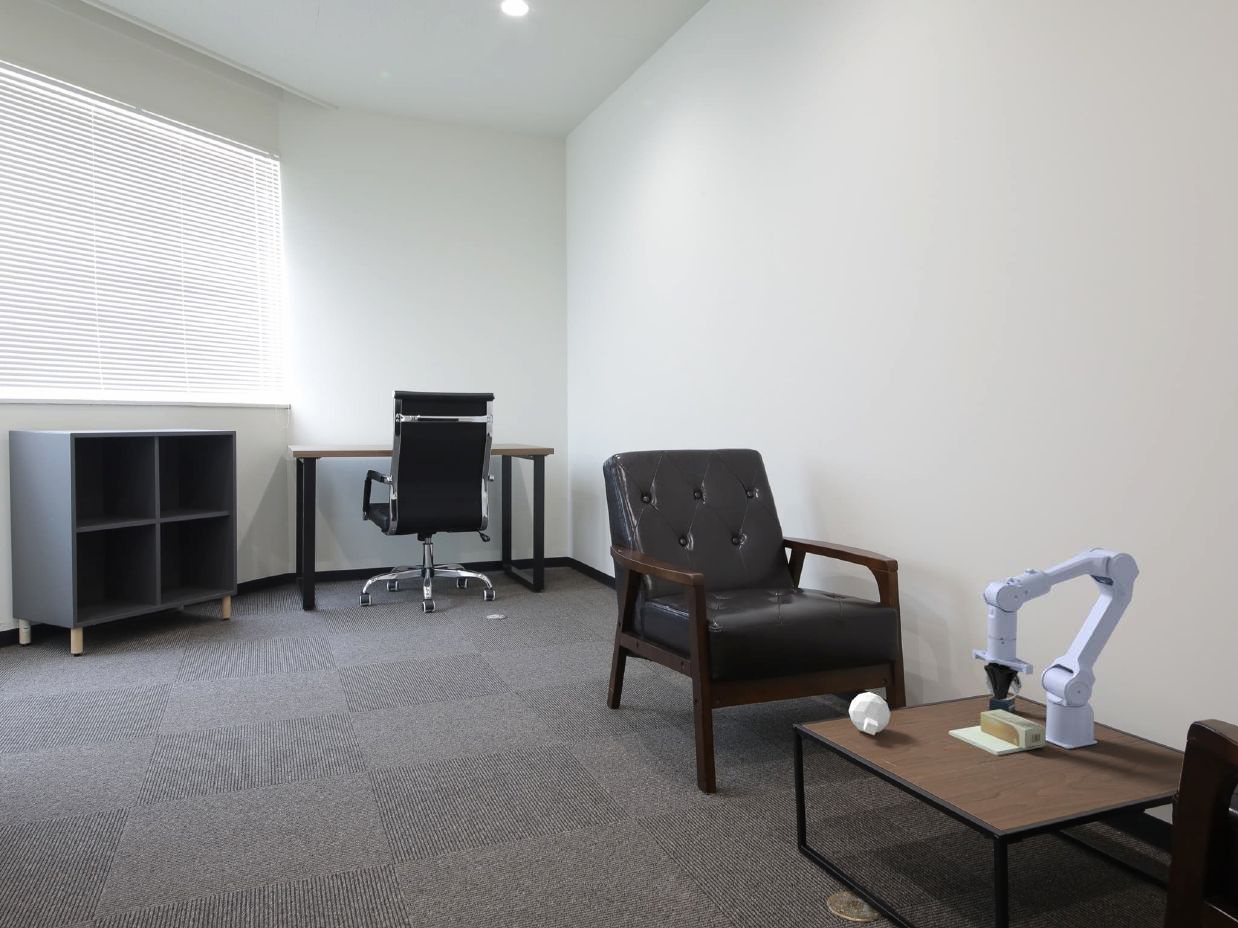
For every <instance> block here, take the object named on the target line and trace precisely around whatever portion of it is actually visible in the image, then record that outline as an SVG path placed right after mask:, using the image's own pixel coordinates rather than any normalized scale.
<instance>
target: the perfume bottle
mask: <svg viewBox="0 0 1238 928" xmlns="http://www.w3.org/2000/svg"><path fill="white" fill-rule="evenodd" d="M848 713H849V716H850V720H851V722H852V724H853V725H854V726H855V727H856V728H857V729H858V730H859V731H862V732H864V733H867V734H870V735H871V736H875V734H876V733H880V732H882V731H883V729H884V728H885V727H887V725H888V724H889V721H890V718H891V711H890V709H889V706H888V702H886V700H884V699H883V698H882V697H881V696H880V695H878V694H875V693H873V692H870V691H868V692H863V693H859V694H858V695H857V696H856V697H854V699H852V700H851V703H850V705H849V709H848Z"/></svg>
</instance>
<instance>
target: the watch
mask: <svg viewBox="0 0 1238 928" xmlns="http://www.w3.org/2000/svg"><path fill="white" fill-rule="evenodd" d="M1018 674H1019V673H1018ZM1018 674H1017V675H1016V676H1015V678H1014V679H1013V681H1012V683H1011V686H1010V688H1012V689H1013V692H1014V695H1012V696H1008V695H1007V698H1006V699H1002V700H999V699H996V698H995V696H994V692H993V688H992V684H991V681H990V679H989V676H988V674H987V673H986V675H985V678H984V679H985V680H984V682H985V685H986V687H987V689H988V691H989V693H990V695H991V696H993V697H991V698H989V708H988V711H992V710H999V709H1001V710H1004V711H1006V712H1009V713H1012V714H1013V713H1014V712H1015V711H1016V697H1017V695H1018V694H1019V693H1020V691H1021V689H1022V687H1023V685H1022V681H1021V678H1020V676H1019V675H1018ZM1013 711H1014V712H1013Z"/></svg>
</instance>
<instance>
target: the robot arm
mask: <svg viewBox="0 0 1238 928" xmlns="http://www.w3.org/2000/svg"><path fill="white" fill-rule="evenodd" d="M1139 574H1140V569H1139V566H1138V565H1137V562H1136V560H1135V558H1134V557H1133V556H1132V555H1131V554H1129V553H1126V552H1119V551H1112V550H1108V549H1104V548H1102V547H1094V548H1093V547H1092V548H1091V549H1089V550H1084V551H1081V552H1080V553H1078V555H1076V556H1074V557H1071V558H1069V559H1067V560H1066V561H1063V562H1061V563H1059V564H1057V565H1054V566H1052V567H1050V568H1048V569H1045V570H1044V571H1043V570H1041V569H1038V568H1032V567H1031V568H1030V567H1029V568H1026V569H1025V572H1024V573H1021V574H1019V575H1016V576H1014V577H1010V576H1009V577H1006V578H1005V581H1004V582H1002V581H993V582H991V583H990V584H988V586H987V587H986V589H985V591H984V592H983V593H982V596H983V600H984V602H985V603H986V604H987V611H988V613H987V616H988V617H987V650H984V649H979V648H977V649H976V648H974V649H972V651H971V657H972V659H975V660H981V661H983V662H987V664H985V665H984V666H983V669H984V670H985V673H986V674H988V676H989V679H990V681H991V684H992V688H993V692H994V696H995V698H996V699H999V700H1002V699H1006V698H1007V696H1008V694H1009V690H1010V688H1011V683H1012V681H1013V679H1014V678H1015V676H1016V675H1017V674H1019V673H1022V674H1023V675H1025V676H1027V675H1033V674H1034V665H1033V664H1031V663H1028V662H1026V661H1024V660H1021V659H1019V658H1018V657H1017V633H1018V632H1017V631H1018V630H1017V628H1018V626H1017V625H1018V611H1019V610H1020V609H1021V607H1022V606H1023V604H1024V603H1026V602H1028V601H1031V600H1034V599H1036V598H1039V597H1041V596H1044V595H1046V594H1048V593H1050V591H1051V588H1052V586H1054V585H1057V584H1060V583H1063V582H1067V581H1069V580H1072V579H1075V578H1078V577H1081V576H1084V575H1089V576H1090V578H1091V579H1092V580H1093V581H1094V583H1095V584H1096V586H1097V588H1098V590H1099V594H1100V595H1099V597H1098V599H1097V601H1096V603H1095V604H1094V606H1093V608H1092V609H1091V611H1090V613H1088V614H1089V615H1088V617H1087V618H1086V620H1085V622H1084V623H1083V625H1082V626H1081V628H1080V629H1079V631H1078V634H1077V635H1076V637H1075V638H1074V640H1073V642H1072V643H1071V646H1070V647H1069V649H1068V651H1067V652H1066V654H1064V655H1062V656H1060V657H1057V658H1055V659H1054V661H1053V662H1052V663H1051V665H1050V666H1048V667H1046V668H1045V669H1044V670H1043V672H1042V673H1041V676H1040V684H1041V687H1042V688H1043V690H1044V691H1045V693H1046V695H1045V696H1046V721H1045V722H1046V723H1045V725H1046V726H1045V727H1046V742H1049V743H1051V744H1055V745H1057V746H1059V747H1062V748H1064V749H1067V750H1070V749H1074V748H1081V747H1085V746H1090V745H1095V744H1097V743H1098V741H1097V740H1095V739H1094V738H1095V736H1094V733H1095V732H1094V731H1095V712H1094V710H1093V707H1092V705H1091V704H1090V703H1089V700H1090V699H1091V697H1092V695H1093V694H1092V693H1093V686H1094V683H1095V682H1096V676H1095V673H1094V671H1093V666H1094V665H1095V663H1096V662H1097V660H1098V658H1099V656H1100V655H1101V653H1102V651H1103V650H1104V647H1105V646H1106V644H1107V643H1108V641H1109V639H1110V637H1111V636H1112V634H1113V632H1114V630H1115V629H1116V627H1117V625H1118V624H1119V622H1120V620H1121V618H1122V617H1123V616H1124V614H1125V612H1126V610H1127V608H1128V606H1129V605H1130V603H1131V601H1132V599H1133V592H1134V585H1135V581H1136V579H1137V578H1138V576H1139ZM994 696H993V697H994Z"/></svg>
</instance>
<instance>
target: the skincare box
mask: <svg viewBox="0 0 1238 928" xmlns="http://www.w3.org/2000/svg"><path fill="white" fill-rule="evenodd" d="M980 726H981V731H984V732H986V733H988V734H991V735H993V736H995V737H998V738H1000V739H1002V740H1005V741H1007V742H1009V743H1012V744H1014V745H1017V746H1019V747H1021V748H1023V749H1028V750H1031V749H1030V748H1034V749H1037V748H1036V747H1039V748H1041V747H1040V746H1044V747H1045V746H1046V742H1047V741H1046V726H1045V725H1042V724H1040V723H1038V722H1036V721H1032V720H1030V719H1027V718H1024V717H1022V716H1019V715H1017V714H1014V713H1013V712H1012V713H1009V712H1006V711H1004V710H1001V709H999V710H992V711H989V710H987V711H982V712H980Z"/></svg>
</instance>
